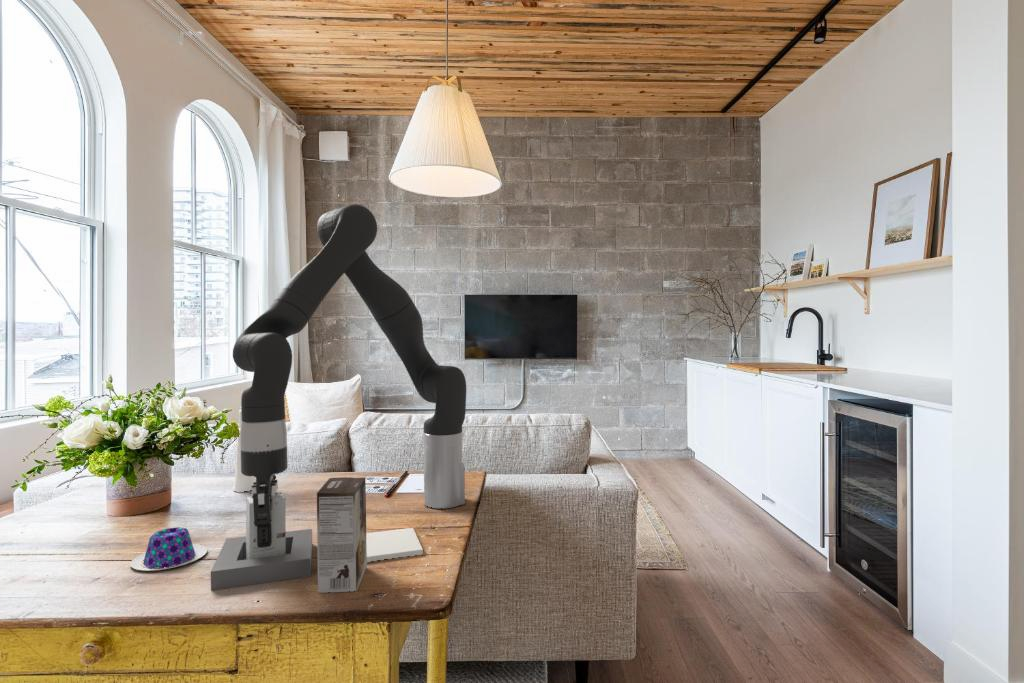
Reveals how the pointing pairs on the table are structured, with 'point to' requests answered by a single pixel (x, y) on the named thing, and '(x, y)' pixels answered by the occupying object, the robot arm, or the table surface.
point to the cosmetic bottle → (240, 480)
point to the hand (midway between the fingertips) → (266, 540)
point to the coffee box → (341, 534)
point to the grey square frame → (262, 562)
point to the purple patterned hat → (169, 550)
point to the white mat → (392, 544)
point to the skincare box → (276, 529)
